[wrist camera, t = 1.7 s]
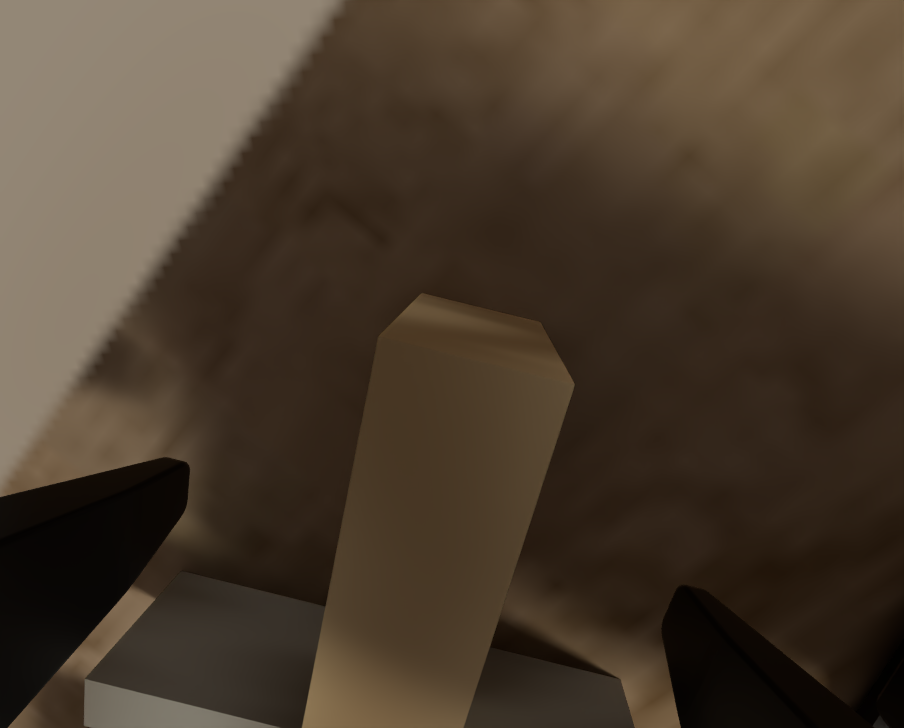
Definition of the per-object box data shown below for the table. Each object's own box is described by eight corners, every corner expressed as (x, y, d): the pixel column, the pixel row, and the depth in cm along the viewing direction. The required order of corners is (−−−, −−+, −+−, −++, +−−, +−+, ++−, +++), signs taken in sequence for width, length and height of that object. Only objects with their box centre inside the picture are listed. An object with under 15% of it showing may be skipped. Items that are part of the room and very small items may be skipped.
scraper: (751, 373, 10) (929, 470, 6) (604, 713, 12) (658, 937, 8) (211, 240, 10) (26, 250, 6) (179, 607, 12) (38, 782, 8)
